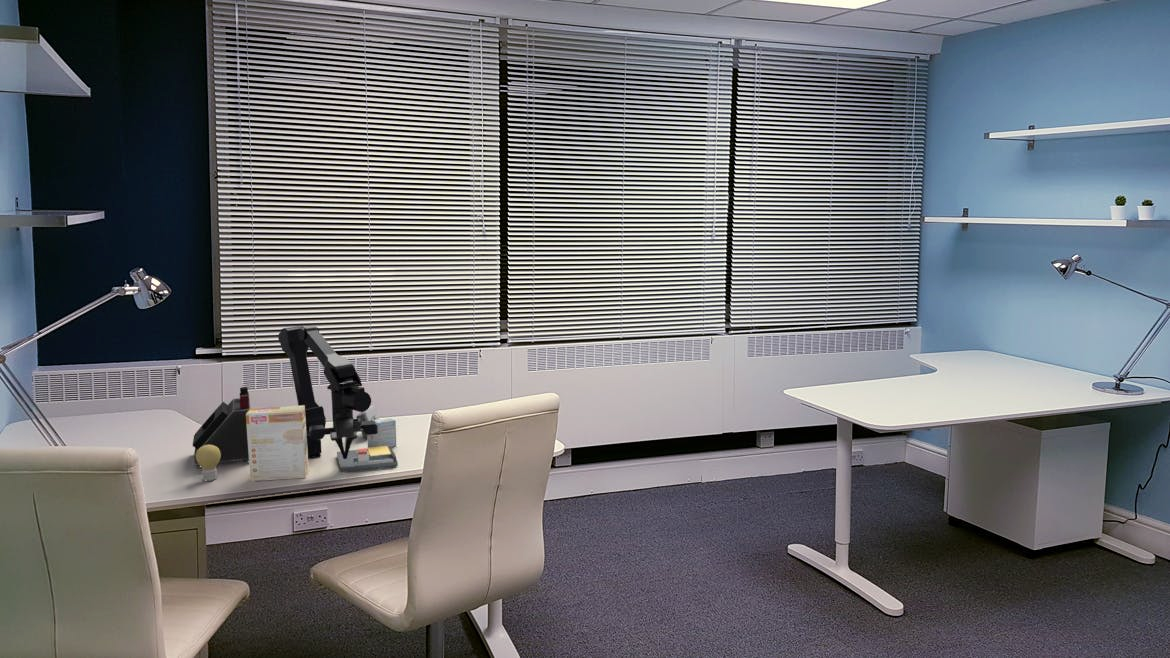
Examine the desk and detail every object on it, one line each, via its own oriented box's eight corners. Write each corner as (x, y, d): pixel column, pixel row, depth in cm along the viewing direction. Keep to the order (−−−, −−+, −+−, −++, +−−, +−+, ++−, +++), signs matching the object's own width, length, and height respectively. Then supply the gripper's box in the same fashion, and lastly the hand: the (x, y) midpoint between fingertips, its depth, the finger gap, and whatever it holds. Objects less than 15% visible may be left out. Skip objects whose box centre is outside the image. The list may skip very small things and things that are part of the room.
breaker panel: (341, 472, 259) (340, 462, 259) (336, 456, 274) (336, 447, 274) (397, 466, 264) (397, 457, 264) (390, 451, 279) (390, 442, 279)
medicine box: (389, 443, 287) (388, 417, 286) (397, 446, 284) (395, 419, 283) (367, 448, 282) (366, 421, 281) (374, 451, 279) (373, 424, 278)
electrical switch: (374, 439, 292) (370, 411, 290) (358, 440, 292) (354, 412, 291) (383, 431, 301) (379, 404, 300) (368, 432, 302) (364, 405, 300)
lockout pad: (370, 458, 267) (370, 456, 267) (367, 448, 277) (367, 447, 277) (391, 456, 269) (391, 454, 269) (387, 446, 279) (387, 445, 279)
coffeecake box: (309, 470, 261) (305, 404, 258) (305, 478, 254) (301, 411, 251) (254, 473, 259) (250, 407, 255) (249, 481, 252) (245, 413, 248)
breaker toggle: (358, 464, 261) (357, 452, 261) (357, 460, 265) (356, 448, 265) (369, 463, 262) (368, 451, 262) (367, 459, 266) (367, 447, 266)
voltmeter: (196, 453, 278) (191, 390, 274) (253, 448, 283) (249, 385, 280) (193, 469, 263) (188, 402, 259) (253, 463, 268) (249, 397, 265)
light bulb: (208, 475, 257) (205, 441, 256) (227, 477, 256) (224, 442, 254) (192, 482, 251) (189, 447, 250) (211, 484, 249) (209, 449, 248)
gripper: (309, 415, 249) (312, 470, 251) (378, 410, 255) (381, 463, 257) (307, 406, 259) (310, 459, 262) (374, 401, 265) (376, 452, 268)
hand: (345, 458), depth 262 cm, fingers closed
